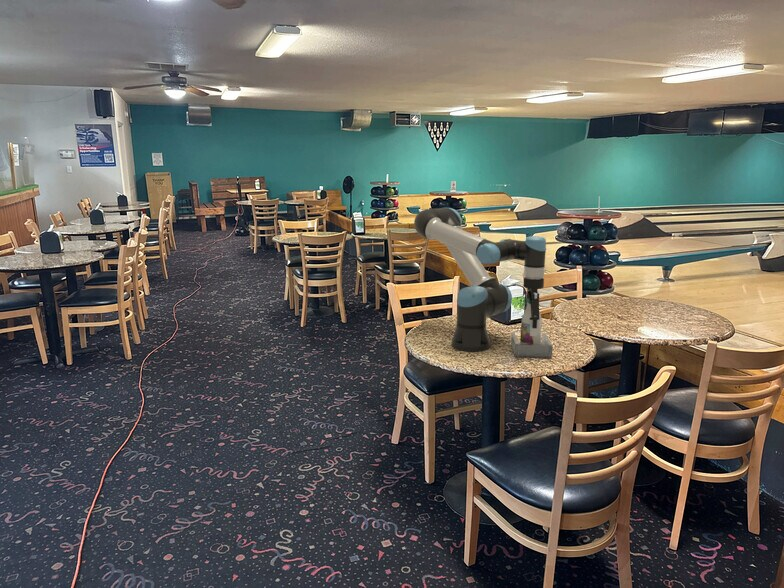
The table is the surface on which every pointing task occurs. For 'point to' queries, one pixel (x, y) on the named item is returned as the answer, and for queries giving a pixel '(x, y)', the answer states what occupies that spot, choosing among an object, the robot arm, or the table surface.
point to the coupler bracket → (532, 348)
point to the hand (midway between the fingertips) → (530, 330)
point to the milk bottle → (526, 327)
